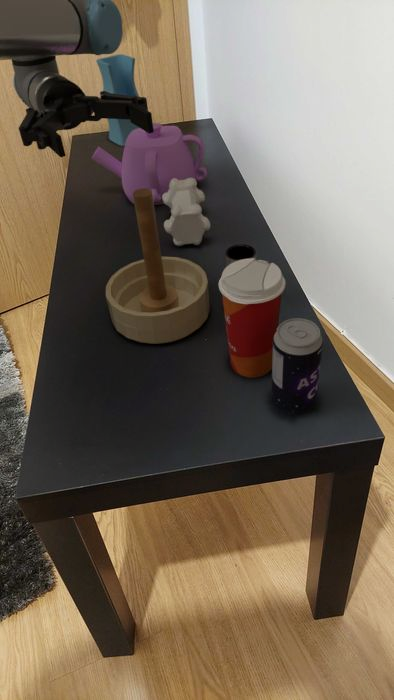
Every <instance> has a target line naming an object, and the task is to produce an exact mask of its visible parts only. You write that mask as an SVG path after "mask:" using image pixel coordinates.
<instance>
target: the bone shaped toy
mask: <svg viewBox="0 0 394 700" xmlns="http://www.w3.org/2000/svg"><path fill="white" fill-rule="evenodd" d="M197 185H198V181H197V180H195V179H194V178H187V179H186V180H178V179H176V178H173V179H172V180H171V181H170V184H169V190H168V192H167V193H164V194H163V195H162V200H163V202H164V203H165V204H164V205H166V206H167V207H169V208H170V214H171V215H170V217H169V219H165V221H164V222H163V228H164V230H165V232H166V233H167V234H169V235H171V236H172V241H173V244H174V245H175V246H177V247H182V246H184V245H194V246H199V245H200V244H201V243H202V241H203V236H204V234H205V232H206V231H209V230H210V229H211V222H210V219H208V217H206V216H204V214H202V212H203V211H202V206H201V205H200V204H202V203H204V202H205V200H206V196H205V193H204V192H203V191H202V190H201V189H199V188H198V187H197Z"/></svg>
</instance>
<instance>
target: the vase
mask: <svg viewBox="0 0 394 700" xmlns="http://www.w3.org/2000/svg"><path fill="white" fill-rule="evenodd" d="M96 64H97V66H98V69H99V72H100V75H101V79H102V86H103V89H102V91H107V92H109V93H112V94H121V95H129V96H137V97H140V95H139V93H138V90H137V87H136V83H135V64H136V58H135V57H132V56H129V55H126V54H121V53H120V54H119V53H118V54H114V55H110V56H105V57H100V58H97V59H96ZM107 122H108V140H109V141H111V142H113V143H115V144H116V145H118V146H120V147H125V143H126V139H127V137H128V136H129V134H130V133H131V132H132V131H133V130H135V129H137V128H139V127H138V126H136V125H134V124H133V123H131V121H130V119H107Z"/></svg>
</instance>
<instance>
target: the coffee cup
mask: <svg viewBox="0 0 394 700" xmlns="http://www.w3.org/2000/svg"><path fill="white" fill-rule="evenodd" d="M285 288H286V278H285V277H284V275H283V273H282V271H281V269H280V267H279V266H278V265H277V264H276V263H274V262H270V263H269V261H267V260H264V259H257V258H256V259H255V258H249V259H242V260H238V261H235V262H233V263H231V264H230V265H228V266H227V267H226V266H225V268H224V269H223V271H222V273H221V277H220V278H219V280H218V290H219V292H220V293H221V295H222V305H223V312H224V320H225V328H226V336H227V337H226V338H227V344H228V351H229V358H230V363H231V367H232V369H233V371H234V372H235V373H237V374H238V375H240V376H242V377H244V378H245V377H246V378H260V377H262V376H265V375H267V374H268V373H269V372H270V371H272V362H273V337H274V335H275V333H276V332H277V328H278V326H279V324H280V314H281V313H280V312H281V304H282V294H283V292H284V290H285Z"/></svg>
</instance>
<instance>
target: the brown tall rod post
mask: <svg viewBox="0 0 394 700" xmlns="http://www.w3.org/2000/svg"><path fill="white" fill-rule="evenodd" d="M133 198H134V209H135V215H136V221H137V227H138V233H139V238H140V244H141V250H142V255H143V259H144V263H145V269H146V274H147V280H148V286H149V287H148V288H146V289H145V290H144V291H143V292H142V293H141V294H140V304H141V309H142V312H147V313H154V312H161V311H168V310H170V309H173V308H176V307H179V300H178V293H177V291H176V289H175V288H173V287H172V286H169V285H165V278H164V271H163V264H162V257H163V256H162V251H161V245H160V237H159V230H158V224H157V217H156V209H155V205H154V201H153V195H152V190H150V189H147V188H142V189H138V190H135V191H134V192H133Z"/></svg>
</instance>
